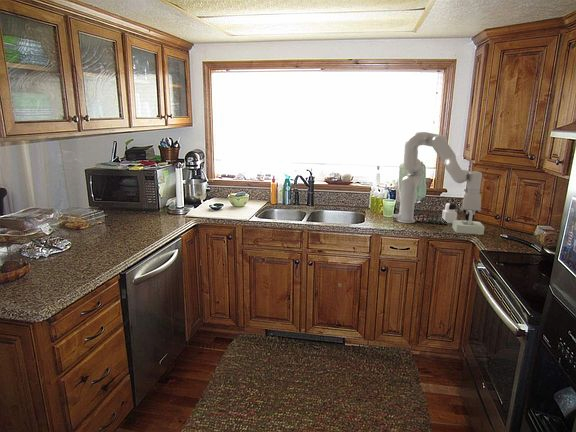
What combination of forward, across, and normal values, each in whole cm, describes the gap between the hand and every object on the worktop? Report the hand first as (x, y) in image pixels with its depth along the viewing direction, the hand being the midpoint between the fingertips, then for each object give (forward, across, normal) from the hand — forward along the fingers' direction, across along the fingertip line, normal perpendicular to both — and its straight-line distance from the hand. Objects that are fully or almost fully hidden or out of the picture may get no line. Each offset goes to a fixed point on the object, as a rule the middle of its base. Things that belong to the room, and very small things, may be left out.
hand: (469, 220), depth 251 cm
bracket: (+5, 0, 0) cm, 5 cm away
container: (+7, -8, +20) cm, 23 cm away
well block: (+7, 0, 0) cm, 7 cm away
